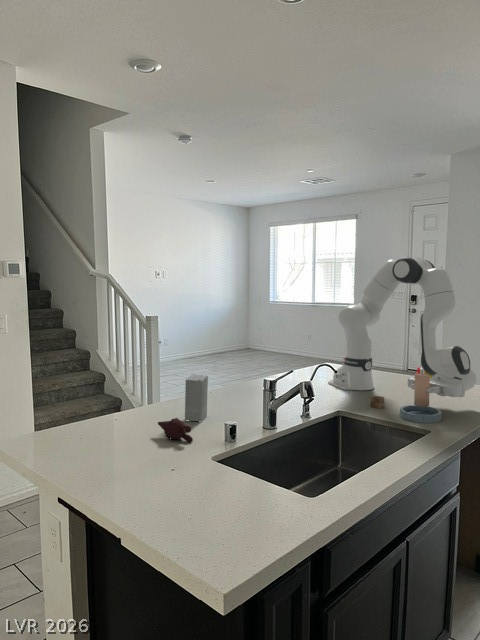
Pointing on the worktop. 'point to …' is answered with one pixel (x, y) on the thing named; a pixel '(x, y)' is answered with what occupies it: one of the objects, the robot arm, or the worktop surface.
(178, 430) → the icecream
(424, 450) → the worktop surface
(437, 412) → the dish
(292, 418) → the worktop surface
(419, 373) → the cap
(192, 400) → the skincare box
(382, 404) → the walnut block
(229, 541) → the worktop surface
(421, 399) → the peach tapered cylinder
